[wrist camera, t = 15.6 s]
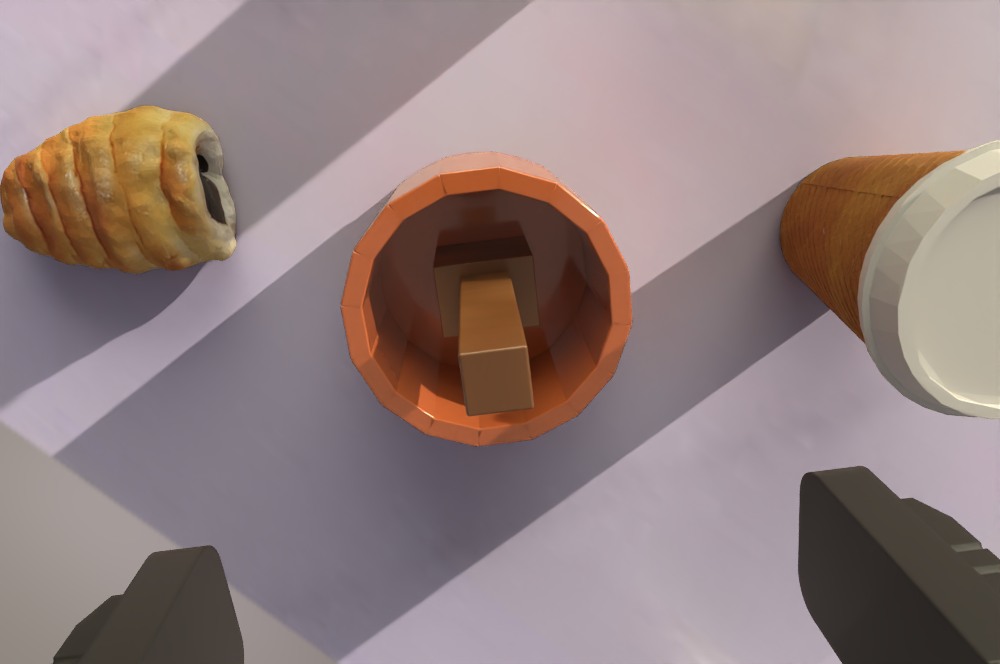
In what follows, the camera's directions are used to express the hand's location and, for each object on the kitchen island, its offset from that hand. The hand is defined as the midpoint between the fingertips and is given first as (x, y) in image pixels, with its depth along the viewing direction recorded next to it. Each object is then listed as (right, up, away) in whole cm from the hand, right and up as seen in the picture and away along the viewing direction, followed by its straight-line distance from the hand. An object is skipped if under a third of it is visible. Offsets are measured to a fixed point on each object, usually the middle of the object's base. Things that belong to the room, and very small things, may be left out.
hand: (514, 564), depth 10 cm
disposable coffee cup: (+16, +8, +25) cm, 30 cm away
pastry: (-16, +9, +23) cm, 29 cm away
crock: (-1, +6, +24) cm, 25 cm away
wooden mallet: (-1, +6, +24) cm, 24 cm away
